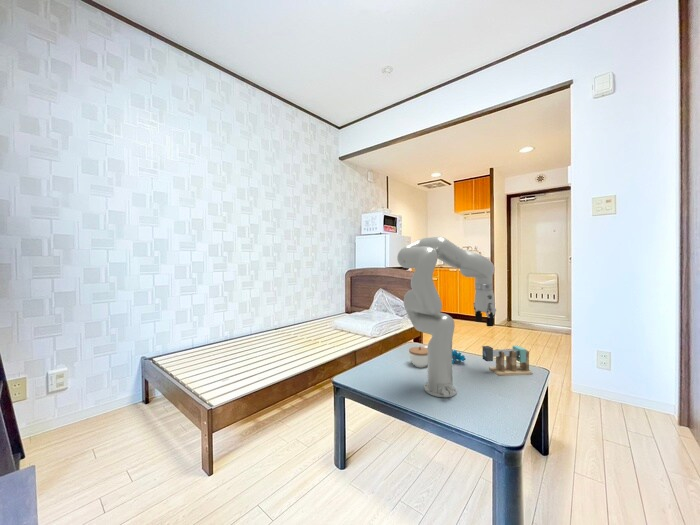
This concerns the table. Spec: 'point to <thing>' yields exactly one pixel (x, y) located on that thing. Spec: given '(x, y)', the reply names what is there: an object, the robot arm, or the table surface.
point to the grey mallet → (496, 353)
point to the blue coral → (457, 356)
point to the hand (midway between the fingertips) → (484, 323)
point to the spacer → (521, 354)
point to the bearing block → (511, 365)
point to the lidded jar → (419, 356)
